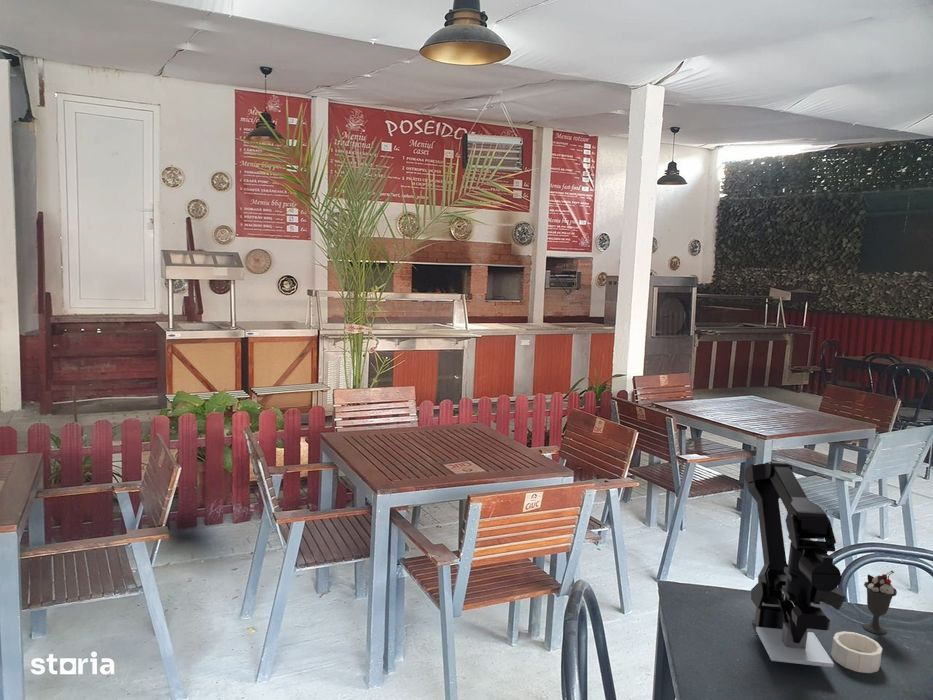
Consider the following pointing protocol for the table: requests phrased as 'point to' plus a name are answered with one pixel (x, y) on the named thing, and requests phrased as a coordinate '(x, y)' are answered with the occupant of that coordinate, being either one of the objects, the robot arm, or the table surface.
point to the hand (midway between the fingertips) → (794, 638)
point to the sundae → (878, 600)
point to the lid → (793, 647)
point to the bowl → (856, 652)
